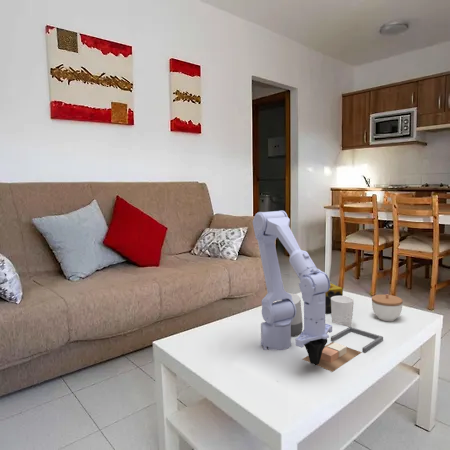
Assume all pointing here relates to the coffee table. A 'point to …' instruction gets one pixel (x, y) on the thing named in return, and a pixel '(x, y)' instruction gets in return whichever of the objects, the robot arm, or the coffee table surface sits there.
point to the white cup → (342, 310)
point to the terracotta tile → (329, 354)
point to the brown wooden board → (338, 362)
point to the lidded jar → (387, 307)
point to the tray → (377, 338)
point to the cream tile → (338, 348)
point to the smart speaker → (297, 320)
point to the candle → (332, 292)
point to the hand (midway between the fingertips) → (314, 363)
